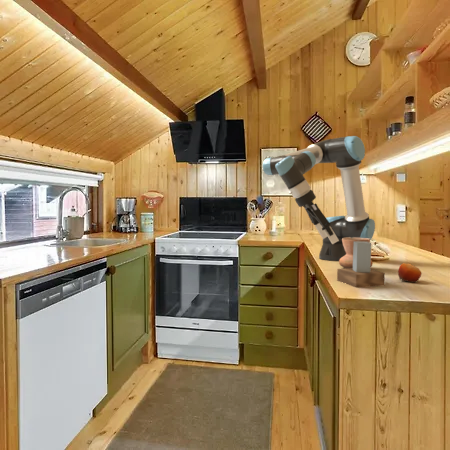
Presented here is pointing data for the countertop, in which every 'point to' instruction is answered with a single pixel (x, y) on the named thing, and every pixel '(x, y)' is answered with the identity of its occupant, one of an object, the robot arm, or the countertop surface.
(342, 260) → the ceramic jug
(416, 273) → the fruit
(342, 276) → the walnut slab
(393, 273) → the countertop surface
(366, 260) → the pillar
